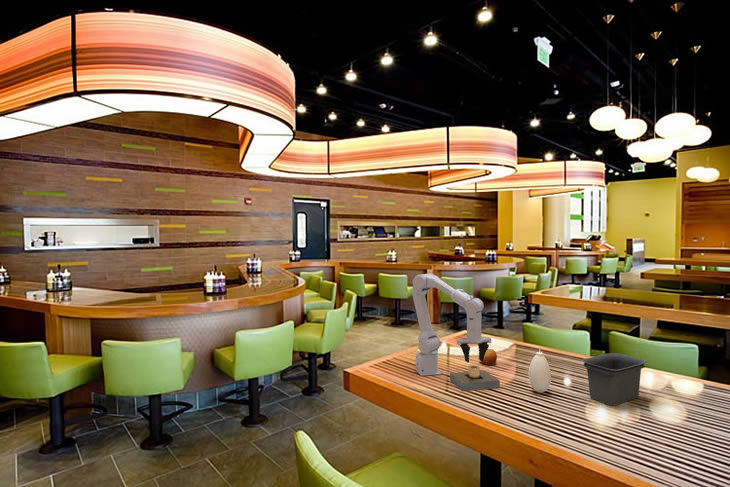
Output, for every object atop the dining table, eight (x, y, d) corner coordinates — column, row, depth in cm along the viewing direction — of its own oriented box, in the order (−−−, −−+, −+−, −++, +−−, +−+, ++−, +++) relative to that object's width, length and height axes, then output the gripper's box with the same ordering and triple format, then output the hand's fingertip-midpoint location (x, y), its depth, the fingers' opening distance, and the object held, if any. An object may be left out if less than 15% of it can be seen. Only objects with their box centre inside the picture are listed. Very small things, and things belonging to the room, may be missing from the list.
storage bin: (614, 411, 135) (614, 370, 135) (573, 395, 149) (573, 357, 149) (650, 399, 144) (650, 361, 144) (608, 385, 158) (608, 350, 158)
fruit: (503, 363, 183) (494, 348, 183) (488, 371, 183) (480, 357, 183) (497, 357, 191) (489, 343, 191) (484, 366, 191) (475, 352, 191)
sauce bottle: (553, 396, 147) (553, 349, 147) (531, 395, 149) (531, 348, 149) (547, 388, 155) (547, 343, 155) (526, 387, 156) (527, 342, 156)
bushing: (471, 386, 158) (471, 369, 158) (466, 382, 162) (466, 365, 162) (481, 385, 159) (481, 368, 159) (476, 381, 163) (476, 364, 163)
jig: (462, 391, 153) (462, 383, 153) (449, 380, 165) (449, 373, 165) (499, 387, 156) (499, 380, 156) (484, 377, 168) (484, 370, 168)
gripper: (461, 331, 155) (461, 365, 155) (495, 329, 158) (495, 363, 158) (454, 327, 162) (454, 360, 162) (486, 325, 165) (486, 357, 165)
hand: (474, 361), depth 160 cm, fingers open, 6 cm apart
